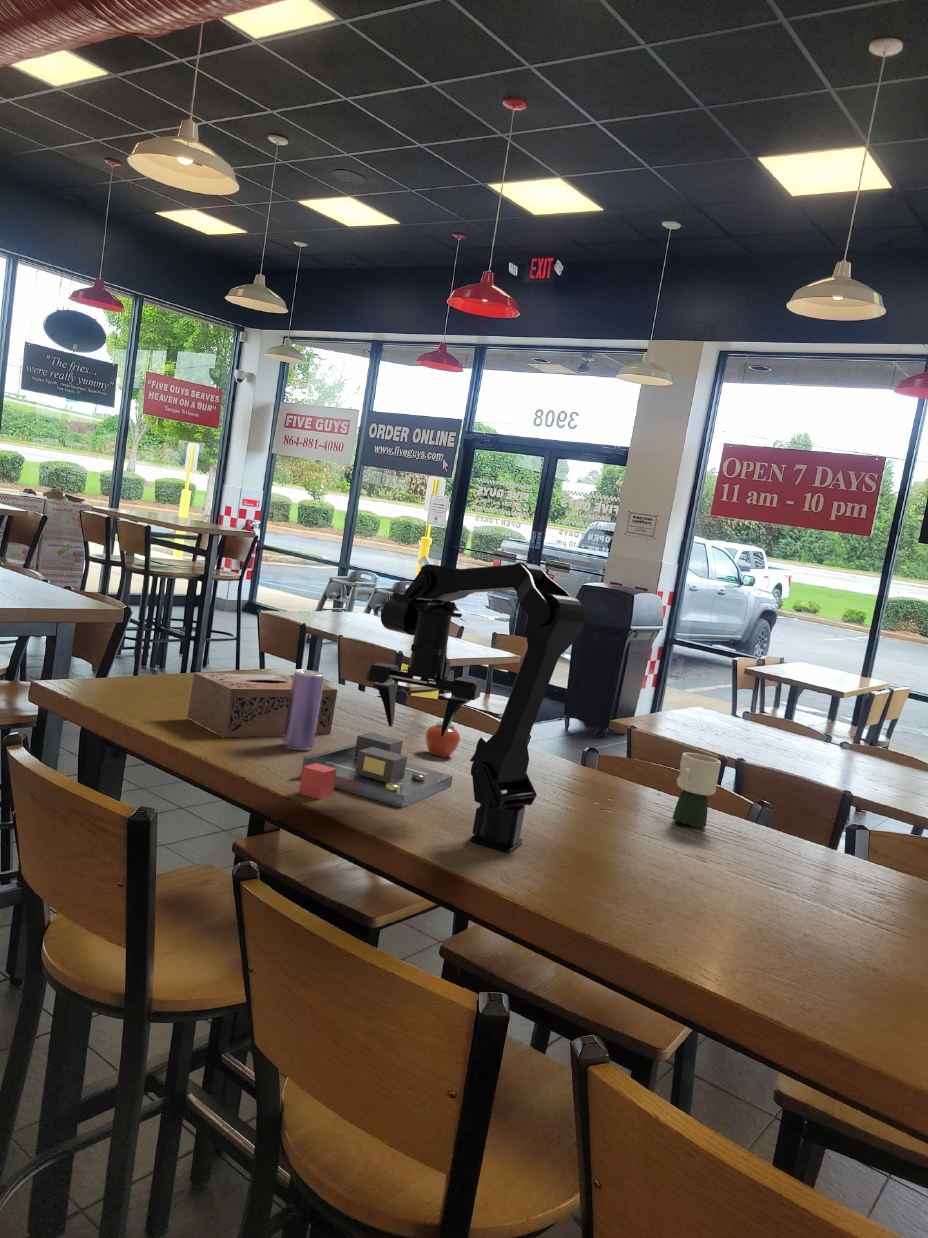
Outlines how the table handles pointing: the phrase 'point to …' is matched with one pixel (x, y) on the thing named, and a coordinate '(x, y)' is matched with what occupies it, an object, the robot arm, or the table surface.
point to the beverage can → (303, 710)
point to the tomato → (442, 740)
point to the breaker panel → (397, 793)
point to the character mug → (695, 788)
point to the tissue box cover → (250, 704)
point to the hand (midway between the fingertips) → (416, 731)
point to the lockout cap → (317, 781)
